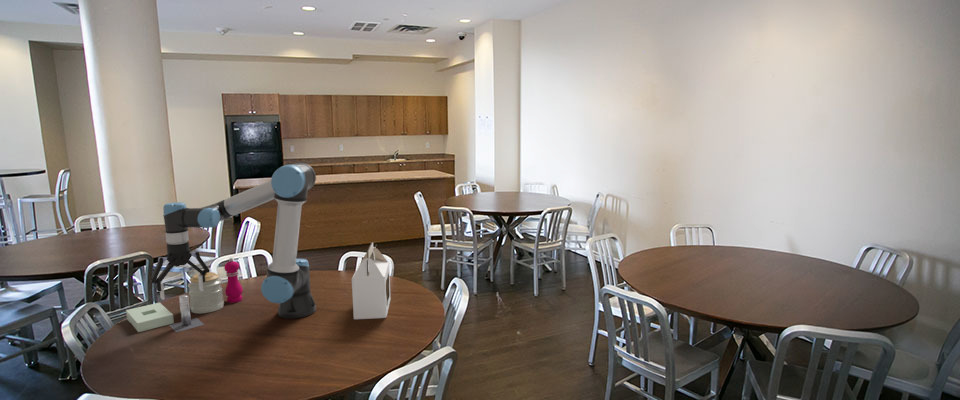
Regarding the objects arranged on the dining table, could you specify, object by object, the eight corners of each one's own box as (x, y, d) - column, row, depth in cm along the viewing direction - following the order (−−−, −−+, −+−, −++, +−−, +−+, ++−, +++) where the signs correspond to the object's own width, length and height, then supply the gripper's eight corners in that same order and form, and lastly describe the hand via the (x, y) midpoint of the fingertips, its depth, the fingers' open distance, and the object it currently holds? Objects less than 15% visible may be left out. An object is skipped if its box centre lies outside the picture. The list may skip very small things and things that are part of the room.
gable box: (386, 318, 201) (383, 252, 197) (353, 320, 200) (350, 253, 196) (390, 299, 223) (388, 239, 219) (361, 300, 222) (358, 240, 218)
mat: (204, 325, 196) (204, 324, 196) (176, 333, 189) (176, 332, 189) (196, 318, 203) (196, 317, 203) (169, 326, 196) (168, 325, 196)
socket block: (174, 323, 198) (172, 314, 197) (138, 333, 189) (137, 323, 189) (160, 311, 212) (159, 302, 211) (127, 319, 203) (126, 310, 202)
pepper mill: (236, 303, 220) (232, 260, 217) (222, 302, 221) (218, 259, 218) (247, 298, 227) (243, 256, 224) (233, 297, 228) (229, 255, 225)
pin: (192, 324, 196) (189, 296, 194) (183, 327, 193) (180, 298, 192) (189, 322, 198) (186, 294, 196) (181, 324, 196) (177, 296, 194)
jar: (194, 317, 205) (190, 276, 202) (187, 308, 215) (183, 269, 212) (228, 309, 213) (224, 270, 211) (220, 301, 223) (216, 263, 220)
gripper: (209, 235, 202) (213, 285, 205) (137, 246, 184) (142, 300, 187) (215, 238, 197) (219, 289, 200) (142, 249, 179) (147, 305, 182)
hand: (182, 294), depth 194 cm, fingers open, 13 cm apart
